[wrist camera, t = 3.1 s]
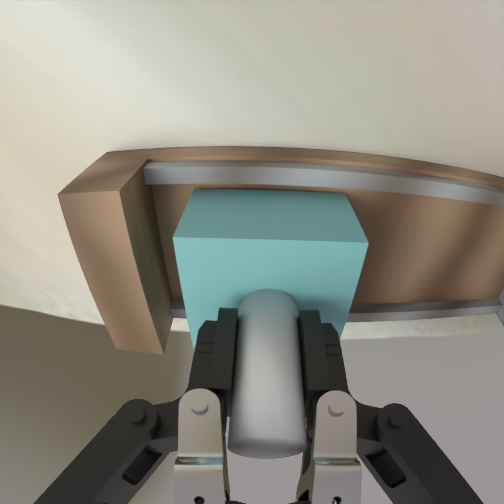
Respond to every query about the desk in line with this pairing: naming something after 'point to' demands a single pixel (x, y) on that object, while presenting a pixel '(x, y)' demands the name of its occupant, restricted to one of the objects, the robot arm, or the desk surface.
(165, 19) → the desk surface
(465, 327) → the desk surface
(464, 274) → the rail
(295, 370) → the carriage
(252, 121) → the desk surface
